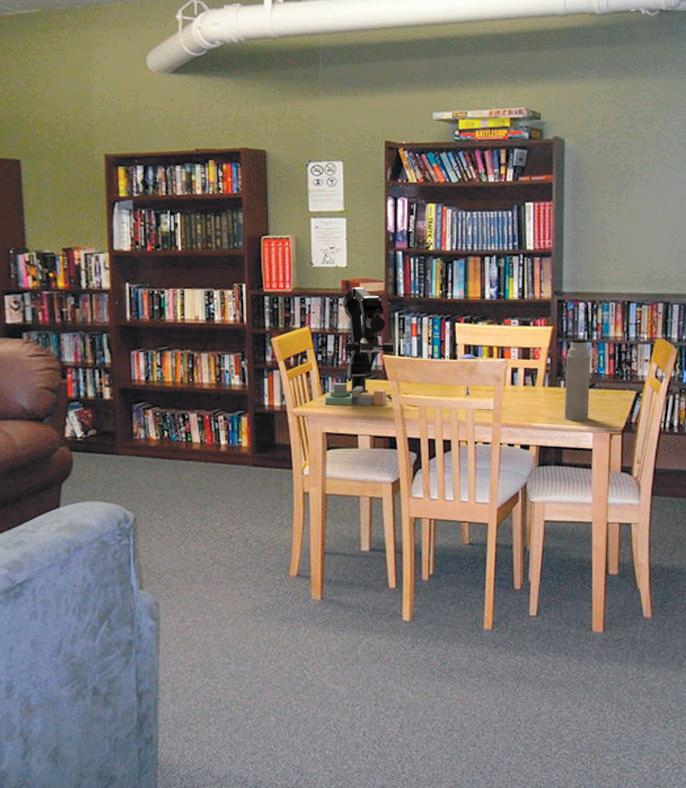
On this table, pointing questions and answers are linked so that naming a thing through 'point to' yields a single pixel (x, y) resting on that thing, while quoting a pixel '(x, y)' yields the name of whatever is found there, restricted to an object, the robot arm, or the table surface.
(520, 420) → the table surface
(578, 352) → the thermos bottle
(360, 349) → the robot arm
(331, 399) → the deck
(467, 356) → the baby rattle
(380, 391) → the chute
